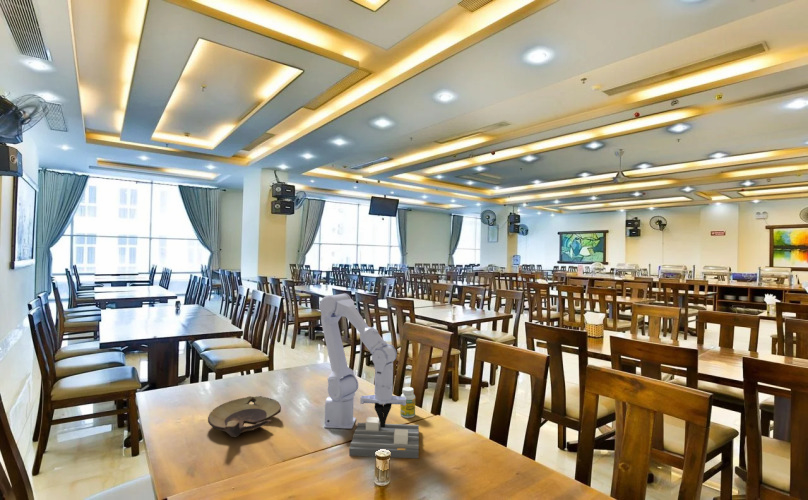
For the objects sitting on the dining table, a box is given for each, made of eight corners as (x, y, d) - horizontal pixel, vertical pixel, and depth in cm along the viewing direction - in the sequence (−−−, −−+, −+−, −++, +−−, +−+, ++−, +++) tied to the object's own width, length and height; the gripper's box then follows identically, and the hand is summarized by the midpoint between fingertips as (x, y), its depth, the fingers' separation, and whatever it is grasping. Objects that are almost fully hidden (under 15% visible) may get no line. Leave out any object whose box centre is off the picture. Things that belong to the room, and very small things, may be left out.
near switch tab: (393, 445, 117) (394, 435, 117) (394, 438, 121) (394, 429, 121) (407, 446, 116) (407, 435, 116) (407, 439, 120) (408, 429, 120)
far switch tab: (365, 431, 125) (365, 422, 125) (367, 426, 129) (367, 416, 129) (378, 432, 125) (378, 422, 125) (379, 426, 129) (379, 417, 129)
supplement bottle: (409, 411, 147) (410, 385, 147) (417, 416, 143) (418, 389, 143) (397, 414, 144) (397, 387, 144) (405, 419, 140) (406, 392, 140)
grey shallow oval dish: (293, 414, 142) (294, 393, 142) (238, 455, 113) (239, 429, 113) (240, 406, 148) (240, 386, 148) (174, 444, 119) (175, 419, 119)
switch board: (349, 455, 115) (349, 445, 115) (358, 428, 132) (358, 420, 132) (418, 458, 114) (418, 448, 114) (418, 431, 131) (418, 422, 131)
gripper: (359, 387, 123) (358, 431, 123) (405, 389, 122) (404, 432, 122) (362, 379, 130) (361, 421, 130) (406, 381, 129) (405, 423, 129)
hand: (382, 426), depth 127 cm, fingers closed
